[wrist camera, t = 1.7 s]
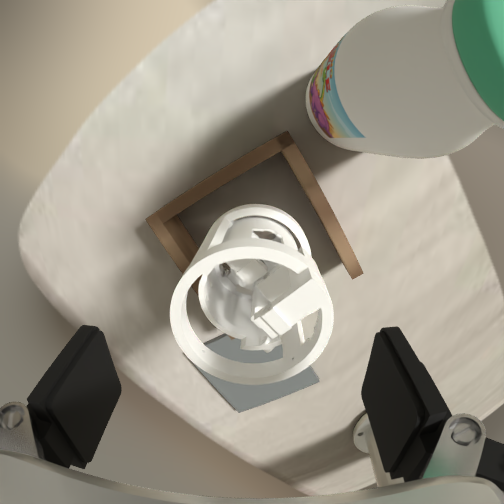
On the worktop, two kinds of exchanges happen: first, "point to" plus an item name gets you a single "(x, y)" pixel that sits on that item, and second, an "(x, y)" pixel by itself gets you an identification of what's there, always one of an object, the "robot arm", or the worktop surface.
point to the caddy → (166, 217)
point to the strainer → (255, 295)
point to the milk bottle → (413, 80)
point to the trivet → (254, 395)
